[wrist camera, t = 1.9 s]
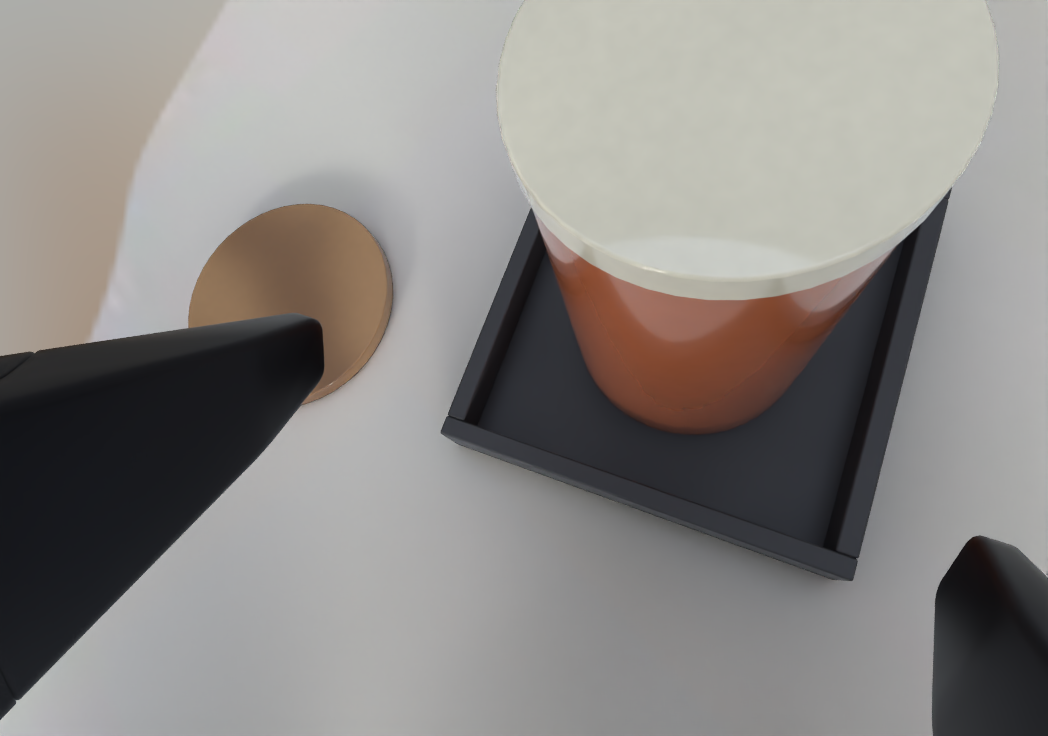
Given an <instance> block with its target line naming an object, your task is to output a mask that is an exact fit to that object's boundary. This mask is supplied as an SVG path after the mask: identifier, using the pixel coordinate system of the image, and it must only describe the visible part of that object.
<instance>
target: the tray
mask: <svg viewBox="0 0 1048 736" xmlns="http://www.w3.org/2000/svg"><path fill="white" fill-rule="evenodd" d="M951 189H952V187H951ZM951 189H950V190H949V191H948V192H947V194H946V195H945V196H944V197H943V199H942V200H941V201H940V202H939V204H938V205H937V206H936V207H935V208H934V210H933V211H932V212H931V213H930V214H929V216H928V217H927V218H926V219H925V220H924V221H923V222H922V223H921V224H920V225H919V226H918V227H917V228H916V229H914V230H913V231H912V232H911V233H910V234H909V235H908V236H907V237H906V238H905V239H903V240H902V241H901V242H900V243H899V245H898V246H897V247H896V248H895V250H894V251H893V252H892V254H891V255H890V256H889V258H888V259H887V260H886V262H885V263H884V264H883V265H882V267H881V268H880V269H879V271H878V272H877V273H876V275H875V276H874V277H873V279H872V280H871V281H870V283H869V284H868V285H867V286H866V288H865V289H864V290H863V292H862V293H861V294H860V296H859V297H858V298H857V300H856V301H855V302H854V303H853V305H852V306H851V307H850V309H849V310H848V311H847V313H846V314H845V315H844V317H843V318H842V319H841V320H840V322H839V323H838V324H837V326H836V327H835V328H834V330H833V331H832V332H831V334H830V335H829V336H828V337H827V339H826V340H825V341H824V343H823V344H822V345H821V347H820V348H819V349H818V351H817V352H816V353H815V354H814V356H813V357H812V358H811V360H810V361H809V362H808V364H807V365H806V366H805V368H804V369H803V370H802V371H801V373H800V374H799V375H798V377H797V378H796V379H795V381H794V382H793V383H792V385H791V386H790V387H789V388H788V390H787V391H786V392H785V393H784V394H783V396H782V397H781V398H780V399H779V400H778V401H777V402H776V403H775V404H774V405H773V406H772V407H770V408H769V409H768V410H767V411H765V412H764V413H762V414H761V415H760V416H758V417H757V418H755V419H753V420H751V421H749V422H747V423H745V424H743V425H741V426H738V427H735V428H732V429H729V430H726V431H722V432H717V433H712V434H701V435H687V434H676V433H670V432H665V431H661V430H658V429H655V428H651V427H649V426H647V425H644V424H642V423H640V422H638V421H636V420H634V419H632V418H631V417H629V416H627V415H626V414H624V413H623V412H622V411H620V410H619V409H618V408H617V407H615V406H614V405H613V404H612V403H611V402H610V401H609V400H608V399H607V398H606V397H605V396H604V395H603V394H602V393H601V391H600V390H599V388H598V387H597V386H596V384H595V383H594V381H593V379H592V378H591V376H590V374H589V372H588V370H587V367H586V365H585V362H584V359H583V357H582V354H581V351H580V348H579V345H578V342H577V339H576V336H575V333H574V330H573V327H572V324H571V321H570V318H569V315H568V312H567V309H566V307H565V304H564V301H563V298H562V295H561V292H560V289H559V286H558V283H557V280H556V277H555V274H554V271H553V268H552V265H551V262H550V259H549V256H548V253H547V251H546V248H545V245H544V242H543V239H542V236H541V233H540V230H539V227H538V224H537V221H536V218H535V215H534V212H533V209H532V208H531V209H530V211H529V214H528V216H527V219H526V221H525V224H524V226H523V229H522V231H521V234H520V236H519V239H518V241H517V244H516V246H515V249H514V251H513V254H512V256H511V258H510V261H509V263H508V266H507V268H506V271H505V273H504V276H503V278H502V281H501V283H500V286H499V288H498V291H497V293H496V296H495V298H494V301H493V303H492V306H491V308H490V311H489V313H488V315H487V318H486V320H485V323H484V325H483V328H482V330H481V333H480V335H479V338H478V340H477V343H476V345H475V348H474V350H473V353H472V355H471V358H470V360H469V363H468V365H467V368H466V370H465V373H464V375H463V377H462V380H461V382H460V385H459V387H458V390H457V392H456V395H455V397H454V400H453V402H452V405H451V407H450V410H449V412H448V415H449V416H447V417H446V419H445V422H444V424H443V427H442V429H441V434H443V435H444V436H446V437H447V438H449V439H451V440H452V441H454V442H455V443H457V444H459V445H462V446H465V447H468V448H470V449H473V450H476V451H479V452H481V453H484V454H487V455H490V456H492V457H495V458H498V459H501V460H503V461H506V462H509V463H512V464H515V465H517V466H520V467H523V468H526V469H528V470H531V471H534V472H537V473H539V474H542V475H545V476H548V477H550V478H553V479H556V480H559V481H561V482H564V483H567V484H570V485H573V486H575V487H578V488H581V489H584V490H586V491H589V492H592V493H595V494H597V495H600V496H603V497H606V498H608V499H611V500H614V501H617V502H619V503H622V504H625V505H628V506H631V507H633V508H636V509H639V510H642V511H644V512H647V513H650V514H653V515H655V516H658V517H661V518H664V519H666V520H669V521H672V522H675V523H677V524H680V525H683V526H686V527H689V528H691V529H694V530H697V531H700V532H702V533H705V534H708V535H711V536H713V537H716V538H719V539H722V540H724V541H727V542H730V543H733V544H736V545H738V546H741V547H744V548H747V549H749V550H752V551H755V552H758V553H760V554H763V555H766V556H769V557H771V558H774V559H777V560H780V561H782V562H785V563H788V564H791V565H794V566H796V567H799V568H802V569H805V570H807V571H810V572H813V573H816V574H818V575H821V576H824V577H827V578H829V579H832V580H844V581H852V580H853V578H854V574H855V570H856V566H857V562H858V561H857V559H856V558H858V557H859V554H860V550H861V546H862V542H863V538H864V534H865V530H866V526H867V522H868V518H869V515H870V511H871V507H872V503H873V499H874V495H875V491H876V487H877V483H878V479H879V475H880V471H881V467H882V463H883V459H884V455H885V451H886V447H887V443H888V439H889V435H890V431H891V427H892V423H893V419H894V415H895V411H896V407H897V403H898V399H899V395H900V391H901V387H902V384H903V380H904V376H905V372H906V368H907V364H908V360H909V356H910V352H911V348H912V344H913V340H914V336H915V332H916V328H917V324H918V320H919V316H920V312H921V308H922V304H923V300H924V296H925V292H926V288H927V284H928V280H929V276H930V272H931V268H932V264H933V260H934V257H935V253H936V249H937V245H938V241H939V237H940V233H941V229H942V225H943V221H944V217H945V213H946V209H947V205H948V199H949V197H950V193H951Z"/></svg>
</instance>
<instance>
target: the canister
mask: <svg viewBox="0 0 1048 736" xmlns="http://www.w3.org/2000/svg"><path fill="white" fill-rule="evenodd" d="M998 76H999V50H998V43H997V36H996V29H995V25H994V22H993V19H992V16H991V13H990V10H989V7H988V4H987V1H986V0H524V1H523V3H522V5H521V6H520V8H519V10H518V12H517V13H516V15H515V17H514V19H513V22H512V24H511V27H510V29H509V32H508V34H507V36H506V39H505V42H504V46H503V50H502V54H501V58H500V62H499V66H498V75H497V85H496V102H497V117H498V122H499V126H500V131H501V136H502V140H503V143H504V146H505V149H506V151H507V154H508V157H509V160H510V163H511V165H512V168H513V171H514V173H515V176H516V179H517V182H518V184H519V186H520V188H521V190H522V192H523V194H524V195H525V197H526V199H527V201H528V202H529V204H530V206H531V208H532V209H533V212H534V215H535V218H536V221H537V224H538V227H539V230H540V233H541V236H542V239H543V242H544V245H545V248H546V251H547V253H548V256H549V259H550V262H551V265H552V268H553V271H554V274H555V277H556V280H557V283H558V286H559V289H560V292H561V295H562V298H563V301H564V304H565V307H566V309H567V312H568V315H569V318H570V321H571V324H572V327H573V330H574V333H575V336H576V339H577V342H578V345H579V348H580V351H581V354H582V357H583V359H584V362H585V365H586V367H587V370H588V372H589V374H590V376H591V378H592V379H593V381H594V383H595V384H596V386H597V387H598V388H599V390H600V391H601V393H602V394H603V395H604V396H605V397H606V398H607V399H608V400H609V401H610V402H611V403H612V404H613V405H614V406H615V407H617V408H618V409H619V410H620V411H622V412H623V413H624V414H626V415H627V416H629V417H631V418H632V419H634V420H636V421H638V422H640V423H642V424H644V425H647V426H649V427H651V428H655V429H658V430H661V431H665V432H670V433H676V434H687V435H701V434H712V433H717V432H722V431H726V430H729V429H732V428H735V427H738V426H741V425H743V424H745V423H747V422H749V421H751V420H753V419H755V418H757V417H758V416H760V415H761V414H762V413H764V412H765V411H767V410H768V409H769V408H770V407H772V406H773V405H774V404H775V403H776V402H777V401H778V400H779V399H780V398H781V397H782V396H783V394H784V393H785V392H786V391H787V390H788V388H789V387H790V386H791V385H792V383H793V382H794V381H795V379H796V378H797V377H798V375H799V374H800V373H801V371H802V370H803V369H804V368H805V366H806V365H807V364H808V362H809V361H810V360H811V358H812V357H813V356H814V354H815V353H816V352H817V351H818V349H819V348H820V347H821V345H822V344H823V343H824V341H825V340H826V339H827V337H828V336H829V335H830V334H831V332H832V331H833V330H834V328H835V327H836V326H837V324H838V323H839V322H840V320H841V319H842V318H843V317H844V315H845V314H846V313H847V311H848V310H849V309H850V307H851V306H852V305H853V303H854V302H855V301H856V300H857V298H858V297H859V296H860V294H861V293H862V292H863V290H864V289H865V288H866V286H867V285H868V284H869V283H870V281H871V280H872V279H873V277H874V276H875V275H876V273H877V272H878V271H879V269H880V268H881V267H882V265H883V264H884V263H885V262H886V260H887V259H888V258H889V256H890V255H891V254H892V252H893V251H894V250H895V248H896V247H897V246H898V245H899V243H900V242H901V241H902V240H903V239H905V238H906V237H907V236H908V235H909V234H910V233H911V232H912V231H913V230H914V229H916V228H917V227H918V226H919V225H920V224H921V223H922V222H923V221H924V220H925V219H926V218H927V217H928V216H929V214H930V213H931V212H932V211H933V210H934V208H935V207H936V206H937V205H938V204H939V202H940V201H941V200H942V199H943V197H944V196H945V195H946V194H947V192H948V191H949V190H950V189H951V187H952V186H953V185H954V184H955V182H956V181H957V180H958V179H959V177H960V176H961V175H962V173H963V172H964V171H965V169H966V167H967V166H968V164H969V162H970V161H971V159H972V157H973V156H974V154H975V152H976V151H977V149H978V147H979V146H980V144H981V142H982V139H983V137H984V134H985V132H986V129H987V127H988V124H989V122H990V119H991V117H992V113H993V108H994V104H995V99H996V94H997V90H998Z"/></svg>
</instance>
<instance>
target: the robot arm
mask: <svg viewBox="0 0 1048 736" xmlns="http://www.w3.org/2000/svg"><path fill="white" fill-rule="evenodd" d="M324 367H325V363H324V344H323V329H322V326H321V324H320V322H319V321H318V320H316V319H314V318H311V317H308V316H305V315H302V314H299V313H288V314H281V315H274V316H267V317H261V318H254V319H247V320H241V321H234V322H227V323H220V324H214V325H207V326H200V327H193V328H187V329H180V330H173V331H166V332H160V333H153V334H146V335H140V336H133V337H126V338H119V339H113V340H106V341H99V342H92V343H86V344H79V345H73V346H65V347H59V348H52V349H46V350H39V351H37V352H36V353H33V352H24V353H18V354H11V355H5V356H0V720H1V719H2V718H3V717H4V716H5V715H6V714H7V713H8V711H9V710H10V709H11V708H12V707H13V706H14V705H15V704H16V700H19V699H21V698H22V697H23V696H24V695H25V694H26V693H27V692H28V691H29V690H30V689H31V688H32V687H33V685H34V684H35V683H36V682H37V681H38V680H39V679H40V678H41V677H42V676H43V675H44V674H45V673H46V672H47V671H48V670H49V669H50V668H51V667H52V666H53V665H54V664H55V663H56V662H57V661H58V660H59V659H60V658H61V657H62V656H63V655H64V654H65V653H66V652H67V651H68V650H69V649H70V648H71V647H72V646H73V645H74V644H75V643H76V642H77V641H78V640H79V639H80V638H81V637H82V636H83V635H84V634H85V633H86V632H87V631H88V630H89V629H90V628H91V627H92V626H93V625H94V624H95V623H96V622H97V620H98V619H99V618H100V617H101V616H102V615H103V614H104V613H105V612H106V611H107V610H108V609H109V608H110V607H111V606H112V605H113V604H114V603H115V602H116V601H117V600H118V599H119V598H120V597H121V596H122V595H123V594H124V593H125V592H126V591H127V590H128V589H129V588H130V587H131V586H132V585H133V584H134V583H135V582H136V581H137V580H138V579H139V578H140V577H141V576H142V575H143V574H144V573H145V572H146V571H147V570H148V569H149V568H150V567H151V566H152V565H153V564H154V563H155V562H156V561H157V560H158V559H159V558H160V556H161V555H162V554H163V553H164V552H165V551H166V550H167V549H168V548H169V547H170V546H171V545H172V544H173V543H174V542H175V541H176V540H177V539H178V538H179V537H180V536H181V535H182V534H183V533H184V532H185V531H186V530H187V529H188V528H189V527H190V526H191V525H192V524H193V523H194V522H195V521H196V520H197V519H198V518H199V517H200V516H201V515H202V514H203V513H204V512H205V511H206V510H207V509H208V508H209V507H210V506H211V505H212V504H213V503H214V502H215V501H216V500H217V499H218V498H219V497H220V496H221V495H222V494H223V493H224V491H225V490H226V489H227V488H228V487H229V486H230V485H231V484H232V483H233V482H234V481H235V480H236V479H237V478H238V477H239V476H240V475H241V474H242V473H243V472H244V471H245V470H246V469H247V468H248V467H249V466H250V465H251V464H252V463H253V462H254V461H255V460H256V459H257V458H258V457H259V456H260V454H261V453H262V452H263V451H264V450H265V449H266V448H267V446H268V445H269V444H270V443H271V442H272V441H273V439H274V438H275V437H276V436H277V434H278V433H279V432H280V431H281V429H282V428H283V427H284V426H285V424H286V423H287V422H288V421H289V419H290V418H291V417H292V416H293V414H294V413H295V412H296V411H297V409H298V408H299V407H300V406H301V404H302V403H303V402H304V401H305V399H306V398H307V397H308V396H309V394H310V393H311V392H312V391H313V389H314V388H315V387H316V386H317V384H318V383H319V382H320V380H321V378H322V376H323V373H324ZM932 728H933V736H1048V578H1047V577H1046V576H1045V575H1044V574H1043V573H1042V572H1041V571H1040V570H1039V569H1038V568H1037V567H1036V566H1035V565H1034V564H1033V563H1032V562H1031V561H1030V560H1029V559H1028V558H1027V557H1026V556H1025V555H1024V554H1023V553H1022V552H1021V551H1020V550H1019V549H1018V548H1016V547H1014V546H1012V545H1009V544H1006V543H1003V542H1000V541H997V540H993V539H990V538H987V537H984V536H980V535H979V536H975V537H972V538H971V539H970V540H969V541H968V542H967V543H966V544H965V546H964V547H963V549H962V550H961V552H960V553H959V555H958V556H957V558H956V559H955V561H954V562H953V564H952V565H951V567H950V568H949V570H948V571H947V573H946V574H945V576H944V577H943V579H942V581H941V582H940V584H939V587H938V590H937V593H936V598H935V622H934V652H933V683H932Z"/></svg>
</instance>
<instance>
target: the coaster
mask: <svg viewBox="0 0 1048 736" xmlns="http://www.w3.org/2000/svg"><path fill="white" fill-rule="evenodd" d="M392 299H393V284H392V276H391V271H390V267H389V264H388V261H387V258H386V256H385V254H384V252H383V250H382V248H381V247H380V245H379V244H378V242H377V240H376V239H375V238H374V237H373V236H372V235H371V233H370V232H369V231H368V230H367V229H366V228H365V227H364V226H363V225H362V224H361V223H360V222H358V221H357V220H356V219H355V218H353V217H351V216H350V215H348V214H346V213H345V212H342V211H340V210H337V209H335V208H331V207H327V206H323V205H315V204H296V205H289V206H284V207H280V208H277V209H273V210H270V211H268V212H266V213H263V214H261V215H259V216H257V217H255V218H253V219H251V220H249V221H248V222H246V223H245V224H243V225H242V226H240V227H239V228H238V229H236V230H235V231H234V232H233V233H232V234H231V235H229V236H228V237H227V238H226V239H225V240H224V241H223V242H222V243H221V244H220V245H219V246H218V248H217V249H216V250H215V252H214V253H213V254H212V255H211V257H210V258H209V260H208V261H207V263H206V264H205V266H204V268H203V269H202V272H201V274H200V276H199V278H198V280H197V282H196V285H195V288H194V291H193V294H192V298H191V302H190V307H189V316H188V328H193V327H200V326H207V325H214V324H220V323H227V322H234V321H241V320H247V319H254V318H261V317H267V316H274V315H281V314H288V313H299V314H302V315H305V316H308V317H311V318H314V319H316V320H318V321H319V322H320V324H321V326H322V329H323V344H324V363H325V367H324V373H323V376H322V378H321V380H320V382H319V383H318V384H317V386H316V387H315V388H314V389H313V391H312V392H311V393H310V394H309V396H308V397H307V398H306V399H305V401H304V402H303V403H302V404H306V403H309V402H312V401H314V400H317V399H320V398H322V397H324V396H326V395H328V394H329V393H331V392H333V391H335V390H336V389H338V388H339V387H341V386H342V385H343V384H345V383H346V382H347V381H348V380H350V379H351V378H352V377H353V376H354V375H355V374H356V373H357V372H358V371H359V370H360V369H361V368H362V367H363V366H364V365H365V364H366V362H367V361H368V360H369V358H370V357H371V355H372V354H373V353H374V351H375V350H376V348H377V346H378V344H379V342H380V341H381V339H382V336H383V334H384V332H385V329H386V327H387V324H388V320H389V316H390V313H391V306H392ZM302 404H301V405H302Z"/></svg>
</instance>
